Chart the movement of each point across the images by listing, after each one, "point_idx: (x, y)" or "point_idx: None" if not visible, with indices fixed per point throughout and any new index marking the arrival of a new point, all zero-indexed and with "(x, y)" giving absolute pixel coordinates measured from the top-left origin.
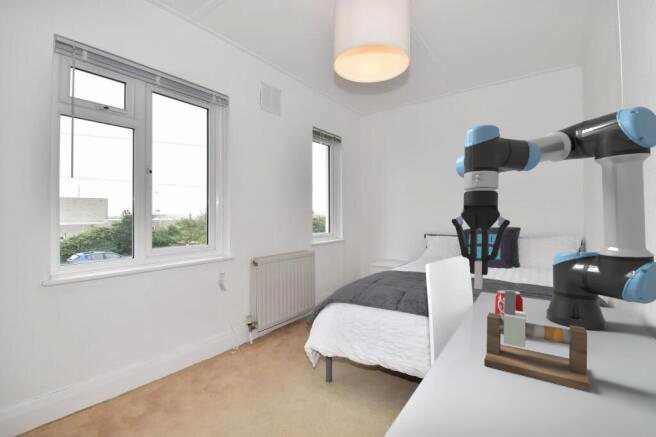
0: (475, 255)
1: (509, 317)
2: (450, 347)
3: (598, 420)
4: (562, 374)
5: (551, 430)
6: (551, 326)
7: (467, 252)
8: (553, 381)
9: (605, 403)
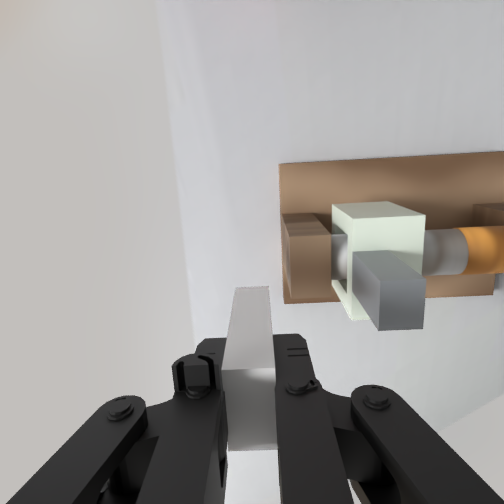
0: (224, 477)
1: (367, 317)
2: (185, 234)
3: (469, 387)
4: (446, 279)
5: None
6: (490, 250)
7: (128, 440)
8: None
9: (497, 320)
